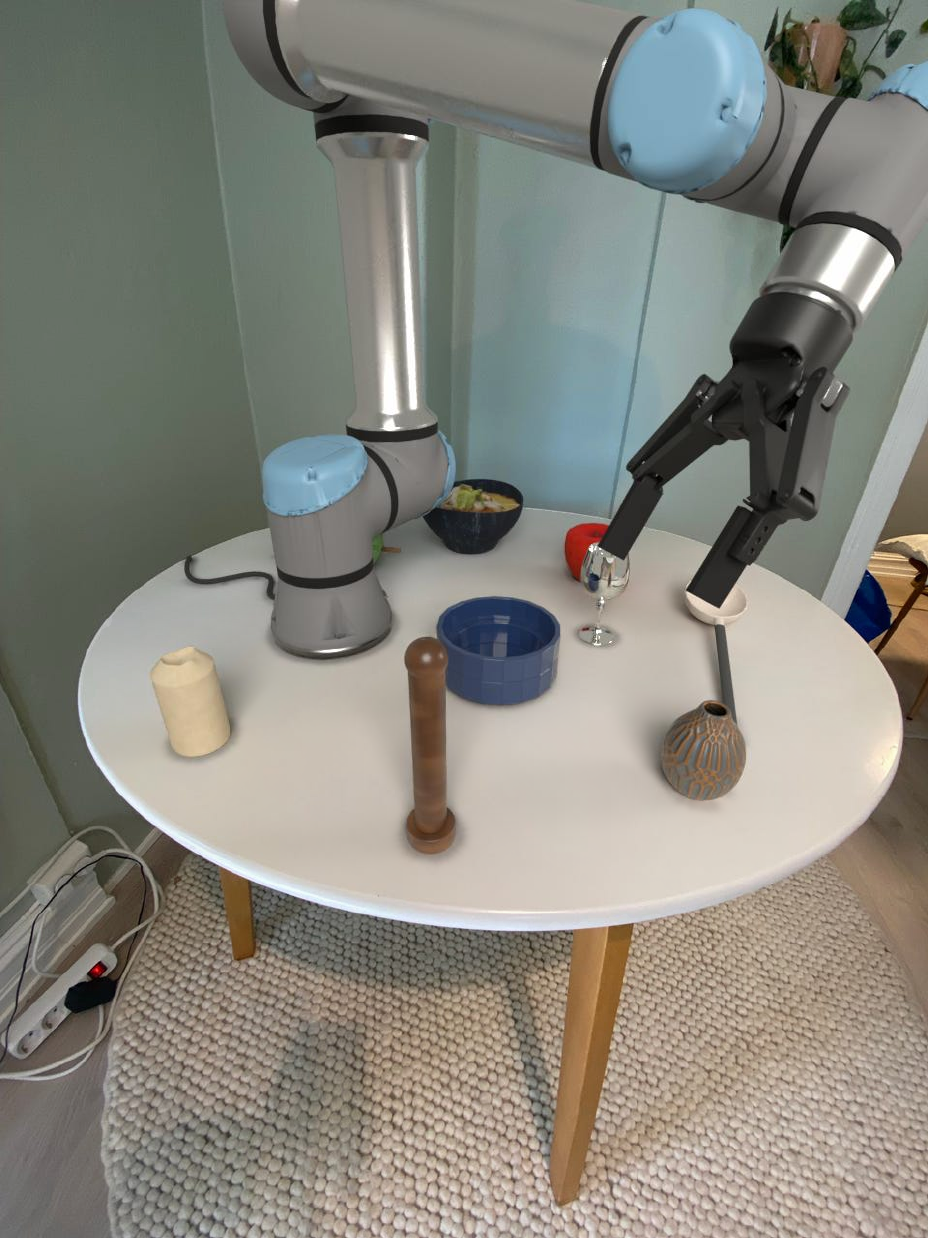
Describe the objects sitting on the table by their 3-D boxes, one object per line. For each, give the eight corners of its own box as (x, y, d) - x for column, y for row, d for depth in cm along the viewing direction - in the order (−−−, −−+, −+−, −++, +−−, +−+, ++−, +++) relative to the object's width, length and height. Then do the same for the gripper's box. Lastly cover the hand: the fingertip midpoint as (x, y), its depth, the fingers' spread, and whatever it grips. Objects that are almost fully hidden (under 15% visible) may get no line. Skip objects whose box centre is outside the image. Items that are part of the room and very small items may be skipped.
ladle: (737, 599, 84) (746, 573, 82) (760, 771, 61) (774, 743, 58) (679, 590, 86) (686, 565, 83) (680, 754, 63) (690, 726, 60)
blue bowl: (416, 689, 67) (414, 640, 63) (468, 632, 77) (468, 587, 74) (531, 724, 62) (536, 673, 58) (570, 658, 72) (575, 611, 69)
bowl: (537, 538, 104) (542, 482, 99) (488, 575, 91) (490, 513, 86) (455, 519, 112) (455, 466, 107) (399, 550, 99) (396, 492, 94)
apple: (621, 593, 87) (629, 543, 83) (560, 588, 88) (565, 539, 84) (617, 567, 94) (625, 520, 90) (561, 563, 95) (566, 516, 92)
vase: (682, 820, 51) (704, 742, 47) (641, 764, 57) (657, 690, 52) (751, 804, 53) (778, 727, 48) (704, 751, 58) (725, 678, 54)
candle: (212, 713, 63) (191, 632, 58) (242, 735, 60) (222, 652, 55) (161, 740, 59) (133, 656, 54) (190, 766, 56) (164, 679, 51)
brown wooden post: (398, 843, 49) (384, 647, 39) (421, 809, 52) (414, 619, 42) (441, 862, 47) (438, 663, 38) (463, 825, 50) (465, 632, 41)
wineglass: (619, 650, 74) (634, 562, 68) (572, 645, 75) (582, 557, 69) (618, 626, 79) (632, 542, 72) (574, 622, 80) (584, 538, 73)
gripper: (1017, 326, 33) (799, 650, 38) (728, 355, 56) (612, 555, 60) (942, 245, 31) (716, 604, 35) (670, 310, 53) (553, 523, 57)
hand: (650, 574), depth 48 cm, fingers open, 13 cm apart
